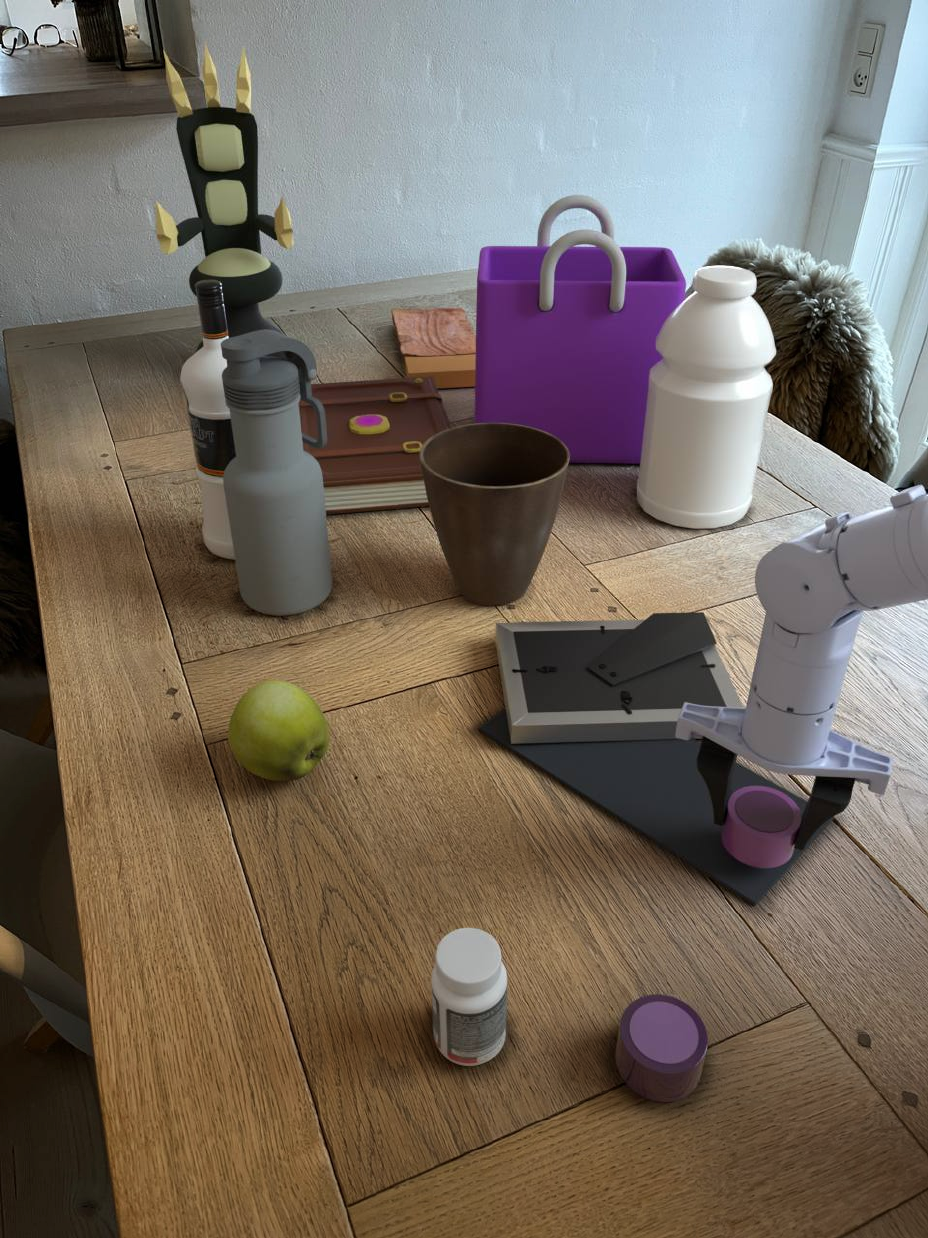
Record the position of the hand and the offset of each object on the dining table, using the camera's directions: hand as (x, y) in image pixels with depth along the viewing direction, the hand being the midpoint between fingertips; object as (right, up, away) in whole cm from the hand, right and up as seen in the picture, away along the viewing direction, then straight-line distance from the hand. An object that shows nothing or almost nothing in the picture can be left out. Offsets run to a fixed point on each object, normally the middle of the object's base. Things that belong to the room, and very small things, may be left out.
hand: (760, 828), depth 76 cm
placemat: (-7, +3, +10) cm, 12 cm away
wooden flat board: (-27, +59, +90) cm, 111 cm away
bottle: (+6, +30, +49) cm, 57 cm away
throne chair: (-58, +57, +87) cm, 119 cm away
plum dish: (0, -1, +1) cm, 1 cm away
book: (-35, +38, +60) cm, 79 cm away
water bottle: (-41, +19, +32) cm, 56 cm away
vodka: (-48, +25, +41) cm, 68 cm away
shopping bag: (-8, +41, +64) cm, 76 cm away
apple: (-38, +3, +10) cm, 40 cm away
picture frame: (-9, +9, +19) cm, 23 cm away
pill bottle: (-22, -11, -10) cm, 27 cm away
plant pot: (-19, +19, +33) cm, 43 cm away
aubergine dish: (-10, -12, -12) cm, 20 cm away
